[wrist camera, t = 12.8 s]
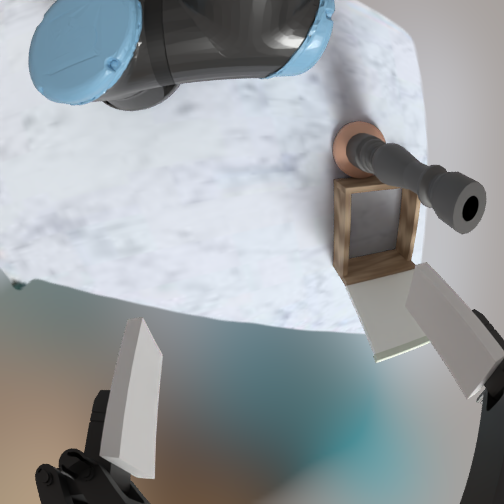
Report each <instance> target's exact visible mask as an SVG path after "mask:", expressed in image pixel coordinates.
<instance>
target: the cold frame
mask: <svg viewBox="0 0 504 504" xmlns="http://www.w3.org/2000/svg"><path fill="white" fill-rule="evenodd" d="M397 188H400V187H395V186H389V185H387V184H384V183H382V182H381V181H380V180H379V179H378V178H377V177H376V175H372V176H370V177H367V178H363V179H358V178H353V177H350V178H340V179H334V252H333V267H334V268H335V270H336V271H337V273H338V275H339V276H340V278H341V279H342V281H343V283H344V284H345V286H347V285H351V284H356V283H360V282H364V281H368V280H373V279H377V278H381V277H385V276H389V275H393V274H397V273H401V272H404V271H408V270H412V269H415V264H414V263H413V262H412V261H411V258H412V253H413V248H414V242H415V236H416V230H417V224H418V217H419V210H420V200H419V199H418V195H417V194H416V193H414V192H413V191H411V190H409V189H405V188H402V199H401V209H400V218H399V227H398V234H397V242H396V248H395V249H393V250H389V251H384V252H379V253H374V254H370V255H365V256H360V257H355V258H350V259H349V245H350V225H351V194H353V193H361V192H370V191H378V190H388V189H397Z"/></svg>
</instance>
